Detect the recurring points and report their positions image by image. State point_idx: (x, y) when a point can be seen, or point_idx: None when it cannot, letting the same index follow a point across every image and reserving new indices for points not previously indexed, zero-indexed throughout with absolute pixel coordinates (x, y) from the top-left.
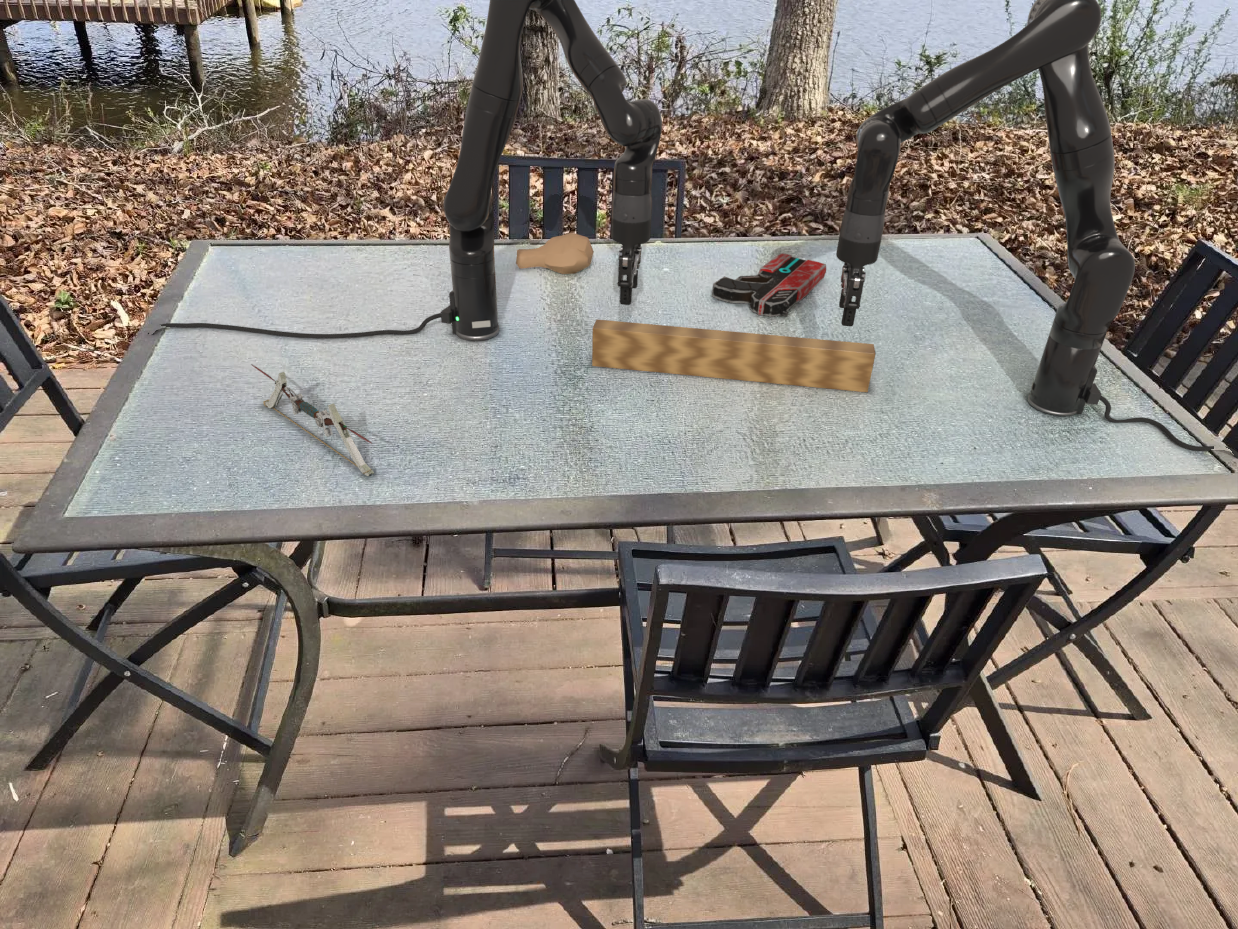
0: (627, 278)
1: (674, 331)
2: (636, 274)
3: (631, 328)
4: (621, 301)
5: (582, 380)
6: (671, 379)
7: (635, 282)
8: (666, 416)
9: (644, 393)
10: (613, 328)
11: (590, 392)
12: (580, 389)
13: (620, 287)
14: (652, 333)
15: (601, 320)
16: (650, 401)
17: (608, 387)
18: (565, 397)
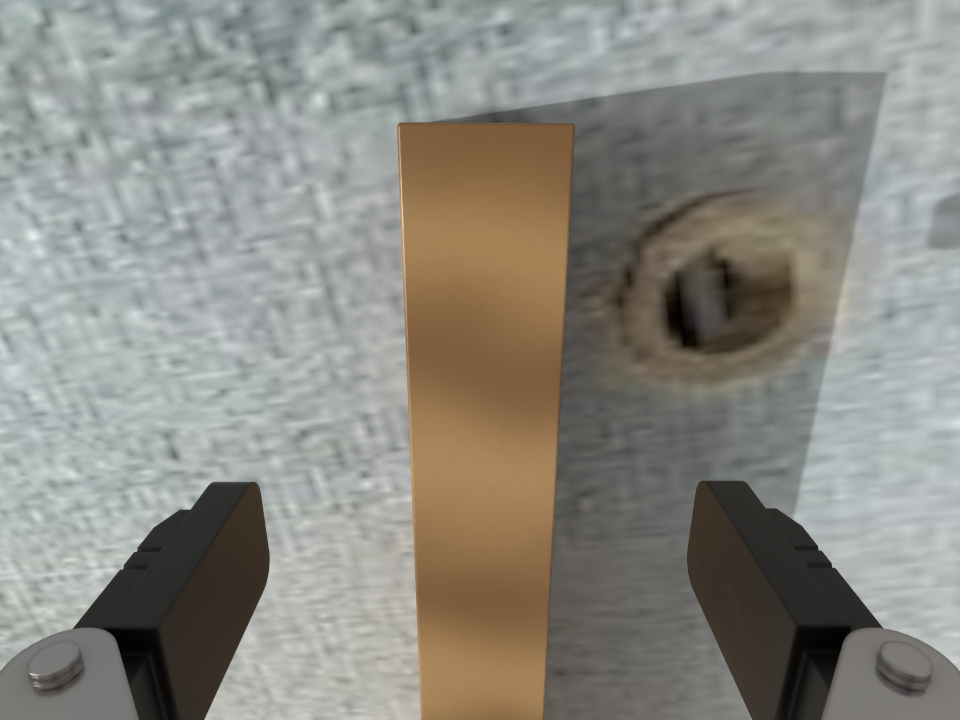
0: (738, 550)
1: (473, 641)
2: (749, 694)
3: (459, 408)
4: (167, 519)
5: (249, 99)
6: (383, 505)
7: (707, 604)
8: (69, 516)
9: (223, 416)
10: (431, 288)
11: (139, 168)
12: (149, 108)
13: (115, 616)
14: (415, 536)
15: (556, 171)
16: (163, 447)
17: (221, 250)
18: (34, 40)
